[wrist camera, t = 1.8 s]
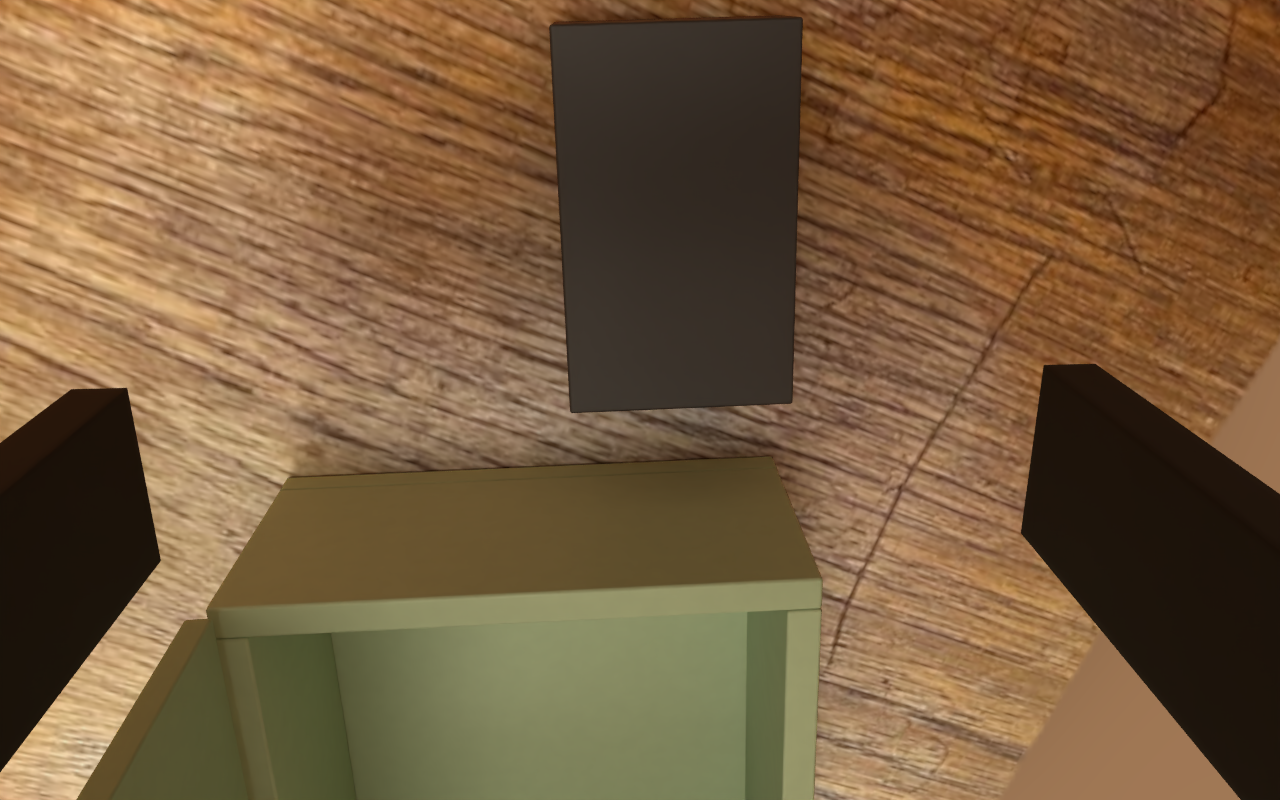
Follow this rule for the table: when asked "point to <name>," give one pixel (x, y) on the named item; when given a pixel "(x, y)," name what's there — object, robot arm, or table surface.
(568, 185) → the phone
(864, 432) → the table surface
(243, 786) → the cover
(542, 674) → the case
